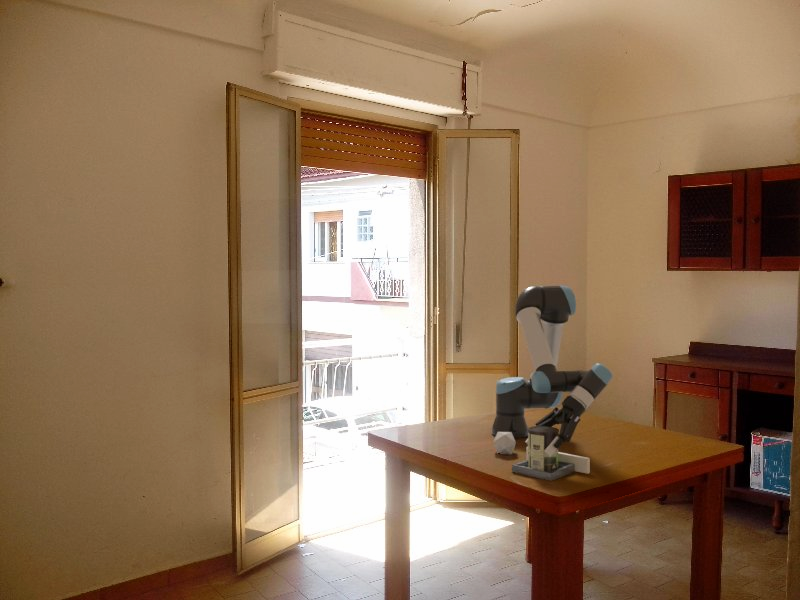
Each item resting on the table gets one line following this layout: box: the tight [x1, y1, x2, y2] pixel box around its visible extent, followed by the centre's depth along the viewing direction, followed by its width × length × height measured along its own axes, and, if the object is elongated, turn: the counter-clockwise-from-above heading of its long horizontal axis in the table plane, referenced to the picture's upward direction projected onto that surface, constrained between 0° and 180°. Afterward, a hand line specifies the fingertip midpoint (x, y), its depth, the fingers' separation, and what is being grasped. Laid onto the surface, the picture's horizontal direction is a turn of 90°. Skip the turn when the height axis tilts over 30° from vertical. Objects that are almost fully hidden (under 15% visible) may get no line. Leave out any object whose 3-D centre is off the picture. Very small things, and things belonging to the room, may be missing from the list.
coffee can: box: [527, 425, 560, 472], centre depth 240 cm, size 10×10×14 cm
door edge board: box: [525, 446, 591, 474], centre depth 246 cm, size 24×2×5 cm, turn 47°
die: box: [492, 432, 517, 455], centre depth 264 cm, size 8×9×10 cm
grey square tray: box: [511, 459, 576, 482], centre depth 240 cm, size 15×15×2 cm
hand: (537, 449), depth 239 cm, fingers open, 13 cm apart
